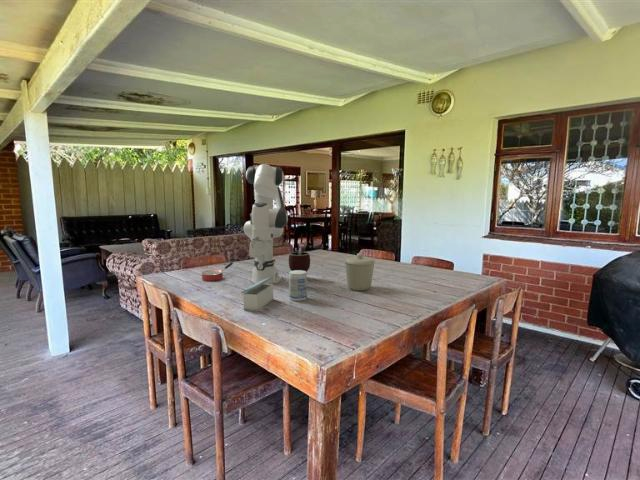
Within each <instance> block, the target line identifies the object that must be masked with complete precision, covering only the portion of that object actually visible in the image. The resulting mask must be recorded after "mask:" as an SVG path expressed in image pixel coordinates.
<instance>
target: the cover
mask: <svg viewBox="0 0 640 480" xmlns="http://www.w3.org/2000/svg"><path fill="white" fill-rule="evenodd" d="M270 279H272V277H269V278H267V279H264V280H262V281H260V282H258V283H256V284H255V283H253V285H251V286H248V287H247V288H245V289H243V290H241V291H240V294H241V295H243V294H244V293H246V292H248V291H250V290H252V289H255V288H257V287H259V286H260V285H262V284H264V283H265V282H267V281H269V280H270Z"/></svg>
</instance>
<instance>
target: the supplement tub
mask: <svg viewBox="0 0 640 480" xmlns="http://www.w3.org/2000/svg"><path fill="white" fill-rule="evenodd" d="M307 272H308V271H307ZM307 272H306V271H302V270H294V271H291V270H290V271H289V274H288V297H289V300H291V301H294V302H303V301H306V299H308V281H307V277H308V273H307Z"/></svg>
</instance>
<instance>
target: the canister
mask: <svg viewBox="0 0 640 480" xmlns="http://www.w3.org/2000/svg"><path fill="white" fill-rule="evenodd" d="M343 262H344V264H345V273H346V284H347V287H348V289H350V290H353V291H359V292H360V291H366V290H367V291H368V290H369V289H371V286H372V282H373V276H374V275H373V274H374V268H375V263H376V260H374V259H373V258H371V257H367V256H364V255H363V253H359V252H358V253H357V254H356V256H351V257H347V258H346V259H345V260H344V261H343Z"/></svg>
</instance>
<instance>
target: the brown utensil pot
mask: <svg viewBox="0 0 640 480" xmlns="http://www.w3.org/2000/svg"><path fill="white" fill-rule="evenodd" d="M288 266H289V270H290V271H294V270H302V271H306V272H308V271H309V269H310V267H311V256H310V252H307V251H302V246H300V247H299V249H298V251H294V252H289V254H288ZM309 280H310V277H308V276H307V282H308V281H309Z"/></svg>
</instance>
